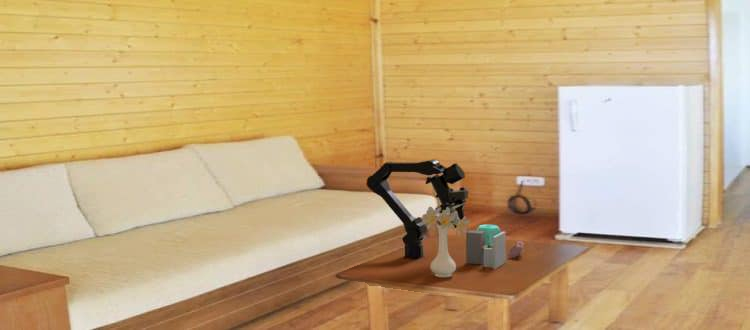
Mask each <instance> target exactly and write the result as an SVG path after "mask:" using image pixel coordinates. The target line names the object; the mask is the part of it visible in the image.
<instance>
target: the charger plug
mask: <svg viewBox="0 0 750 330" xmlns="http://www.w3.org/2000/svg"><path fill="white" fill-rule="evenodd" d="M465 236H466V237H465V239H466V240H465V246H466V247H465V250H466V252H465V255H466V256H465V259H466V261H465V263H466V264H472V265H473V264H474V265H484V248H489V247H488V246H486V245H485V231H476V230H473V229H471V230H468V231H467V232H466V233H465Z"/></svg>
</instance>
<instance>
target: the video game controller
mask: <svg viewBox="0 0 750 330" xmlns="http://www.w3.org/2000/svg"><path fill="white" fill-rule="evenodd" d="M524 246H525V244H524V242H522V241H517V242H516V243H515V245H514V246H512V247H511V248H510V249H509V253H508V258H509V259H515V258H519V257H520V254H521V253H522V254H523V253H524Z"/></svg>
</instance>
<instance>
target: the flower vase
mask: <svg viewBox="0 0 750 330" xmlns="http://www.w3.org/2000/svg"><path fill="white" fill-rule="evenodd" d="M438 207H439V206H438ZM436 208H437V207H436ZM440 211H441V207H439V208H437V209H436V210H435V209H434V208H433V206H428V209H427V210H426V212H425V213H424V214H423V215H422V217H421V218H423V219H422V223H423V224H426V227H427V230H429V229H430V228H431V226H432V225H433V224H436V227H437V231H438V252H437V255H436V257H435V258H434V259H433V260H432V261H431V263H430V267H429V268H430V270H431V271H432V272H433V273H434V276H435V277H437V278H450V277H452V275H453V273H454V272H455V271H456V269H457V263H456V262H455V261H454V260H453V259H452V257H451V256H450V253H449V250H448V249H449V248H448V230H449V228H450V229H452V230H453V229H455V228H454V225H453V224H455V225H457V227H456V228H457V236H458V237H459V236H460V235H461V233H463V234H466V232H468V231H467V226H468V225H469V224H470V223H471V219H467V216H466V215H464V217H463V219H462V220H460V219H459V217H458V213H457V211H455V208H454V212H453V213H451V214H450V209H449V207H447V208H446V211H445V210H443V211H442V214H441V213H439V212H440ZM466 219H467V220H466ZM452 223H453V224H452Z"/></svg>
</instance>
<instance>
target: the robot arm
mask: <svg viewBox="0 0 750 330" xmlns="http://www.w3.org/2000/svg"><path fill="white" fill-rule="evenodd" d="M392 173H416V174H417V173H418V174H421V175H424V176H427V177H426V181H425V185H428V184H431V185H432V187H433V190H434V192H435V194H436V195H435V198H436V199H438V200H439V202H440V204H439V206H436V207H434V208H435V209H434V210H436V209H437V208H439V207H441V211H440V212H439V213H441V214H442V211H443V210H445V211H446V208H447V207H449V209H450V214H451V213H453V212H454V208H455V211H457V213H458V217H459V219H460V220H462V219H463V217H464V216H465V212H464V208H465V206H466V203H467V200H466V199H468V198H469V196H468V195H469V193H470V192H469V191H468V189H467V188H466V187H465V186H464V187H460V188H459V190H458V189H457V190H454V188H450V186H449V184H450V185H453V184H456V183H459V182H460V181H461V180H464V179H465V177H466V175H465V174H466V173H465V172H464V170H463V169H462V168H461V167H460V166H459V164H458V163H457V162H455V163H453V164H451V165H450V166H449V167H448V166H447V167H446V166H444V165H442V164H441V163H440V162H439V160H438V159H435V158H434V159H428V160H423V161H416V162H415V161H412V162H411V161H410V162H409V161H405V162H403V161H399V162H398V161H396V162H394V161H387V162H384V163H383V165H381V166H380V168H379V169H378V170H376V171H375V172H374V173H373V174H372V175H370V176H368V177H367V178H366V186H367V188H368V189H369V190H370V191H372V193H374V194H375V195H378V196H380V197H381V198H382V199H383V201H384V202H385V203H386V204H387V205H388V207H389V208H390V209H391V210H392V211H393V213H394V214H395V215H396V216H397V218H398V219H399V220H400V221H401V223H402V224H403V227H404V230H405V233H406V234H405V235H404V236H403V237H402V242H403V244H404V256H402V258H403V259H414V260H416V259H417V260H419V259H421V258H422V257H424V245H423V242H422V241H423V240H424V237H425V236H426V235H427V234H428V229H427V224H423V223H422V221H423V219H422V217H420V216H418V217H414V216H413V215H412V214H411V212H410V211H409V210H408V209H407V208H406V207H405V206H404V204H403V203H402V202H401V201H400V199H399V198H398V197H397V196H396V194H394V192H393V191H392V189H391V187H390V184H389V182H388V179H389V178H390V176H391V174H392ZM439 174H440V175H439ZM452 224H453V223H452ZM453 225H454V229H457V228H458V227H457V226H458V225H455V224H453Z"/></svg>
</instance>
